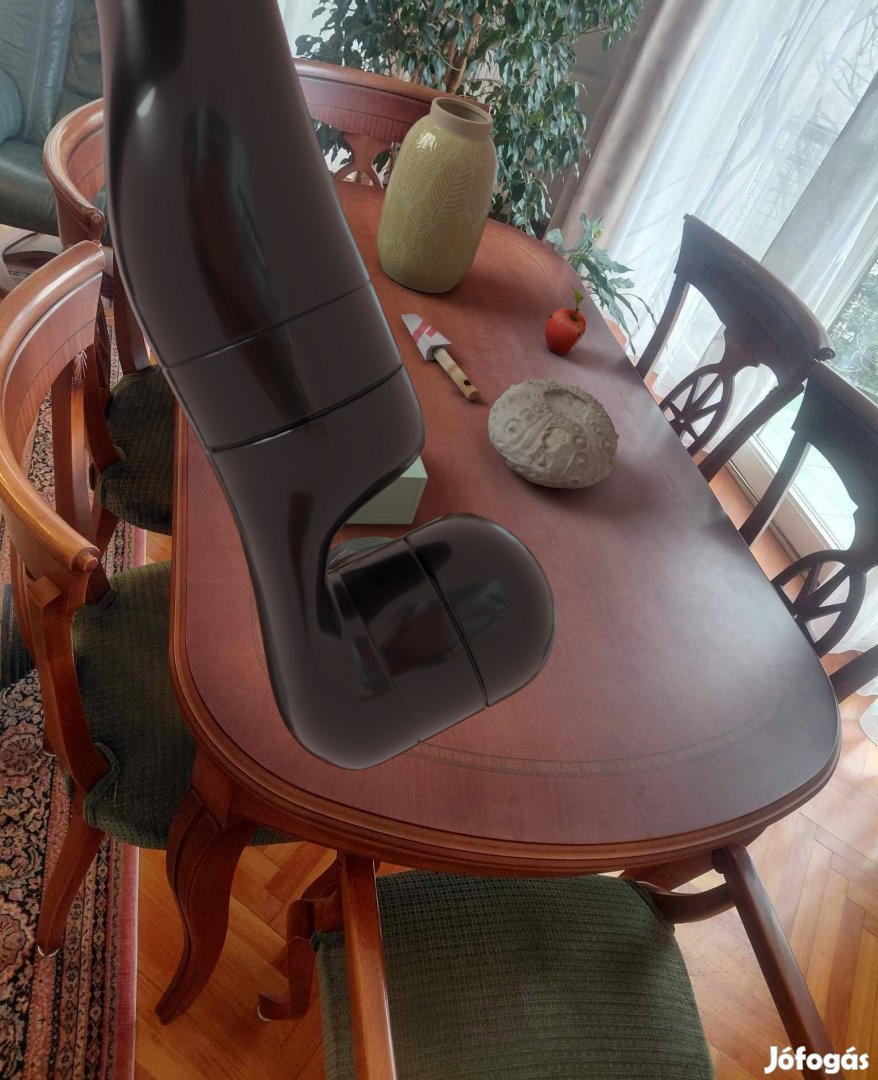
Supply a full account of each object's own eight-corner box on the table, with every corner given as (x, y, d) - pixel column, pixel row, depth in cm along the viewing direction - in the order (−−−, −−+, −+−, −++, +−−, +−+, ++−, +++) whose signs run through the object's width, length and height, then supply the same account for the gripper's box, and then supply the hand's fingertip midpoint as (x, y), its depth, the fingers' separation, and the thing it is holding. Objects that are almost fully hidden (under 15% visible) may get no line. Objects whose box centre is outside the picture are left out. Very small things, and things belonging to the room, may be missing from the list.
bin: (286, 523, 85) (296, 473, 80) (270, 437, 95) (278, 388, 90) (411, 524, 91) (428, 477, 86) (385, 443, 100) (398, 396, 95)
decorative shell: (610, 518, 102) (645, 460, 95) (481, 491, 99) (507, 429, 92) (589, 435, 115) (618, 379, 108) (474, 409, 111) (497, 349, 105)
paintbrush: (421, 305, 122) (487, 387, 112) (416, 320, 124) (480, 402, 114) (400, 306, 120) (465, 389, 110) (395, 321, 122) (459, 404, 112)
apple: (583, 361, 130) (608, 308, 124) (551, 363, 127) (574, 308, 120) (558, 335, 135) (581, 282, 128) (527, 336, 131) (549, 282, 125)
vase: (349, 256, 133) (384, 86, 115) (416, 242, 145) (458, 86, 127) (420, 308, 128) (469, 137, 110) (484, 289, 139) (538, 132, 121)
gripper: (506, 566, 46) (453, 559, 63) (264, 508, 44) (275, 517, 60) (477, 691, 46) (432, 650, 62) (231, 639, 43) (252, 611, 60)
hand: (355, 585), depth 61 cm, fingers closed on cup, 5 cm apart
